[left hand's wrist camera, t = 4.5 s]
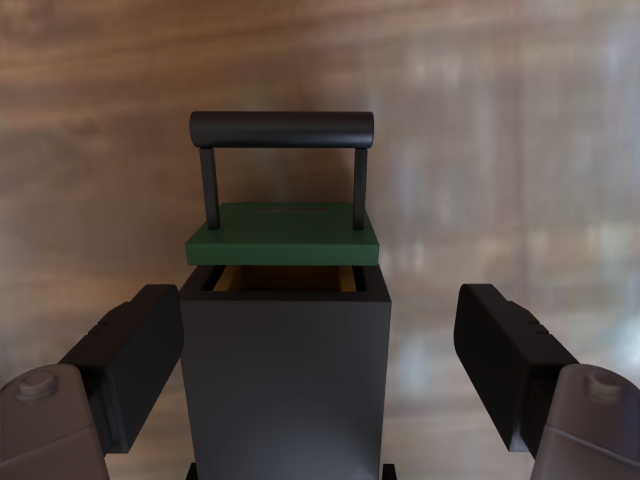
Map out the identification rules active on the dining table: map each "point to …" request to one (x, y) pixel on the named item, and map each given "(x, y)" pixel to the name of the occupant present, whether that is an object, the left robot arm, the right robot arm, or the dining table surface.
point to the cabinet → (285, 378)
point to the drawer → (283, 207)
